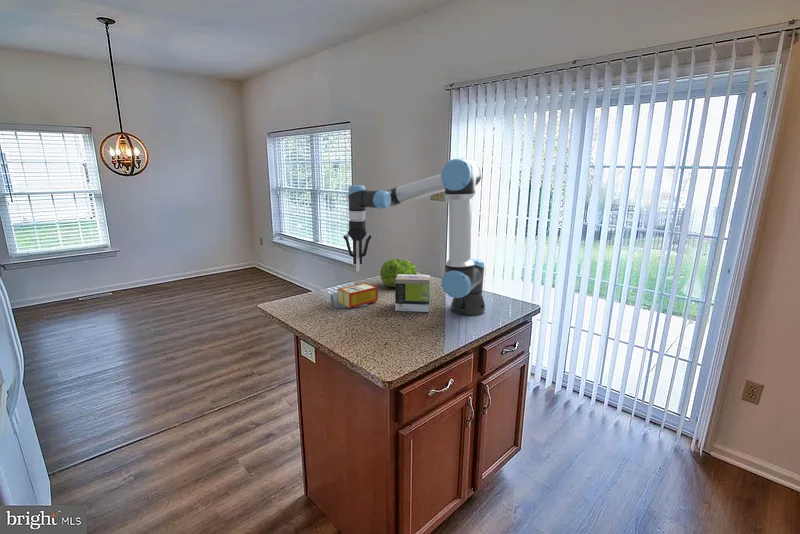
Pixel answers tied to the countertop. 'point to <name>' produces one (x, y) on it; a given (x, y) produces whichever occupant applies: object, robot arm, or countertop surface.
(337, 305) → the mat
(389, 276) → the lettuce
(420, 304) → the tea box
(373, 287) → the baking soda box
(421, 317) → the countertop surface
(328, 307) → the countertop surface
